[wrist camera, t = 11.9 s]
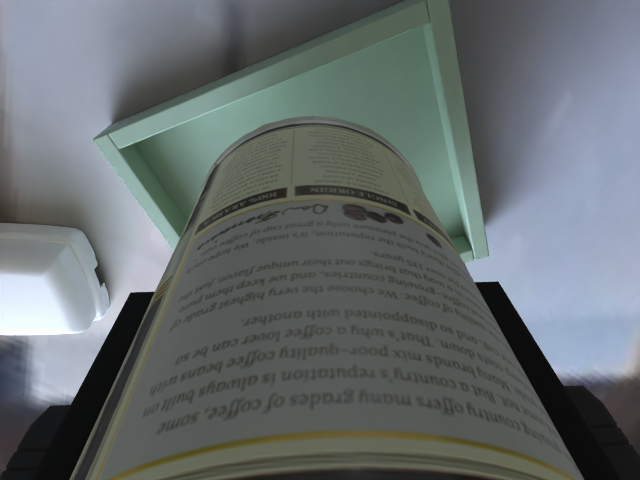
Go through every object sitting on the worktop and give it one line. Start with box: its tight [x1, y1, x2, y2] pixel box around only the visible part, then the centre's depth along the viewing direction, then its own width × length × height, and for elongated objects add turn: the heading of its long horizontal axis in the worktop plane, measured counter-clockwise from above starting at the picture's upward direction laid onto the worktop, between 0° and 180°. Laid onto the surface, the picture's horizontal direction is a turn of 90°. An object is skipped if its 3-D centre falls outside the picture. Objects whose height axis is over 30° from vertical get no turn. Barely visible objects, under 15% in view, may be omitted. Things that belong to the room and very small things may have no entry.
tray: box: [93, 0, 489, 263], centre depth 20 cm, size 16×13×2 cm
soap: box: [0, 223, 110, 335], centre depth 22 cm, size 9×7×3 cm
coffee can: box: [70, 116, 584, 480], centre depth 12 cm, size 10×10×14 cm
